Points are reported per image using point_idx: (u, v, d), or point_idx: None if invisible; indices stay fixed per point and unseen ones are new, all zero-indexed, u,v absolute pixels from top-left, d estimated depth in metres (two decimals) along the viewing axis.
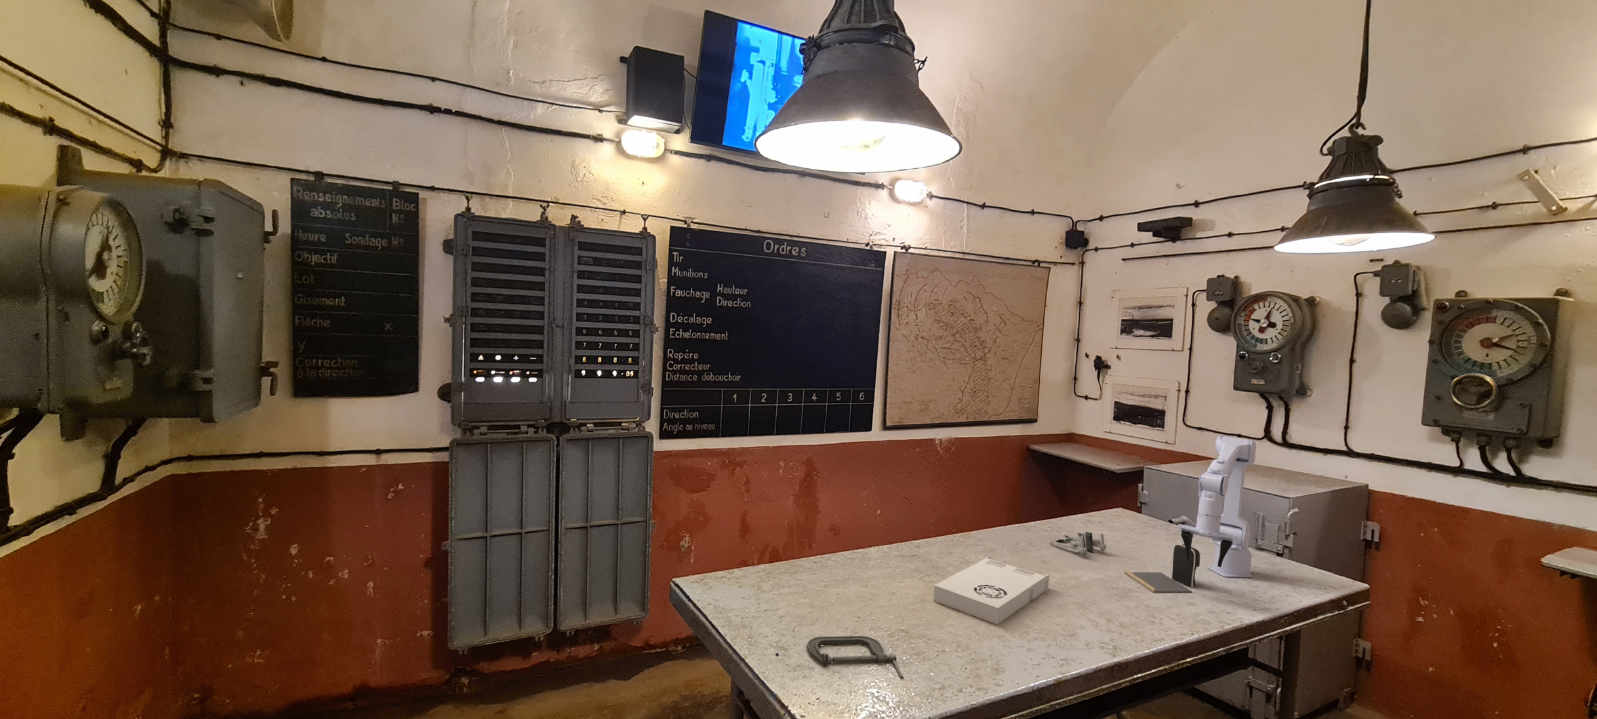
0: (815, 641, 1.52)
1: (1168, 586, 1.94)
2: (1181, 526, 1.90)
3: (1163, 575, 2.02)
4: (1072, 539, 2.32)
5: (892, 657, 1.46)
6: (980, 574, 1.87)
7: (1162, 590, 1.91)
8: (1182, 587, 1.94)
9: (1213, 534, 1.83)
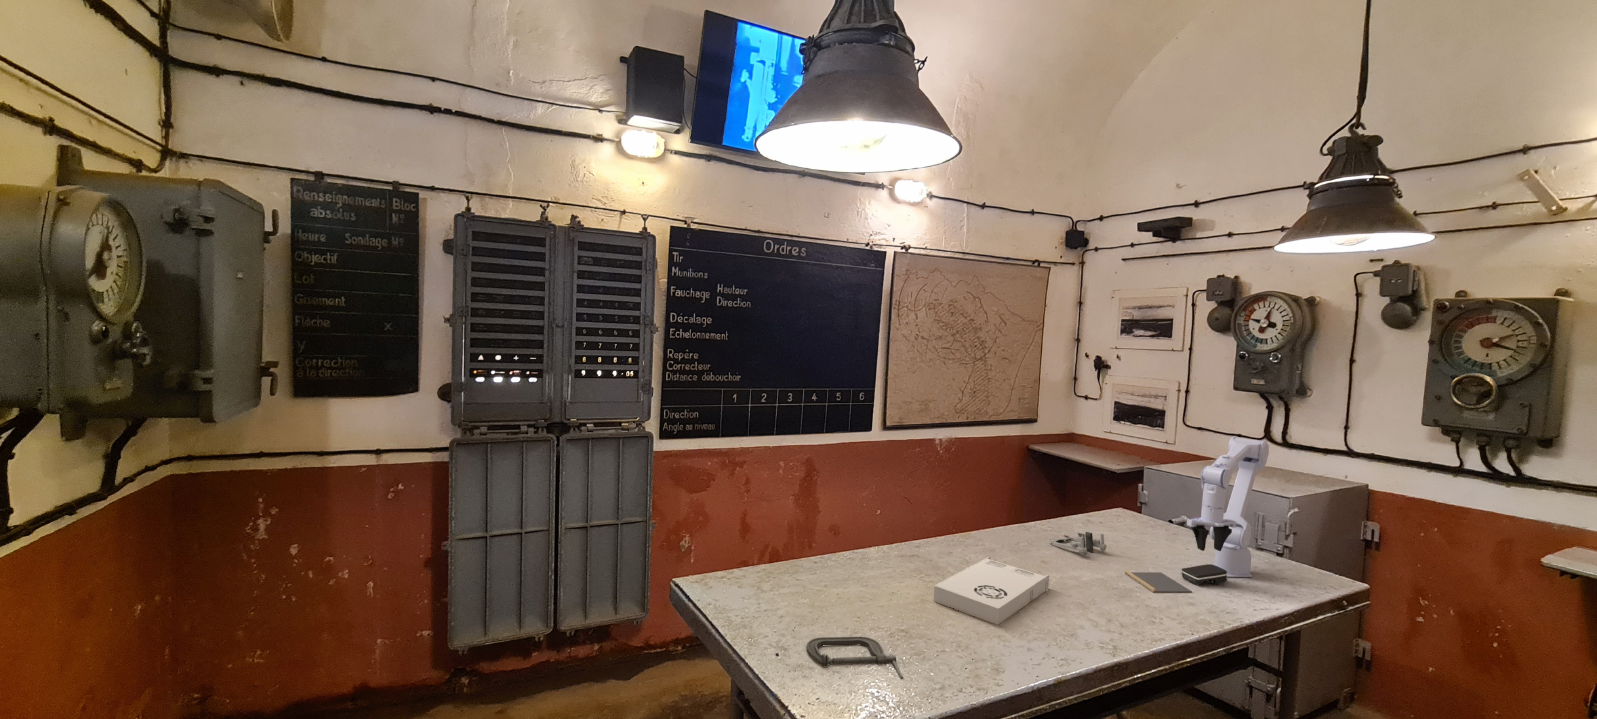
0: (814, 642, 1.52)
1: (1168, 586, 1.94)
2: (1194, 522, 1.96)
3: (1163, 575, 2.02)
4: (1072, 539, 2.32)
5: (892, 658, 1.45)
6: (980, 574, 1.87)
7: (1162, 590, 1.91)
8: (1182, 587, 1.94)
9: None
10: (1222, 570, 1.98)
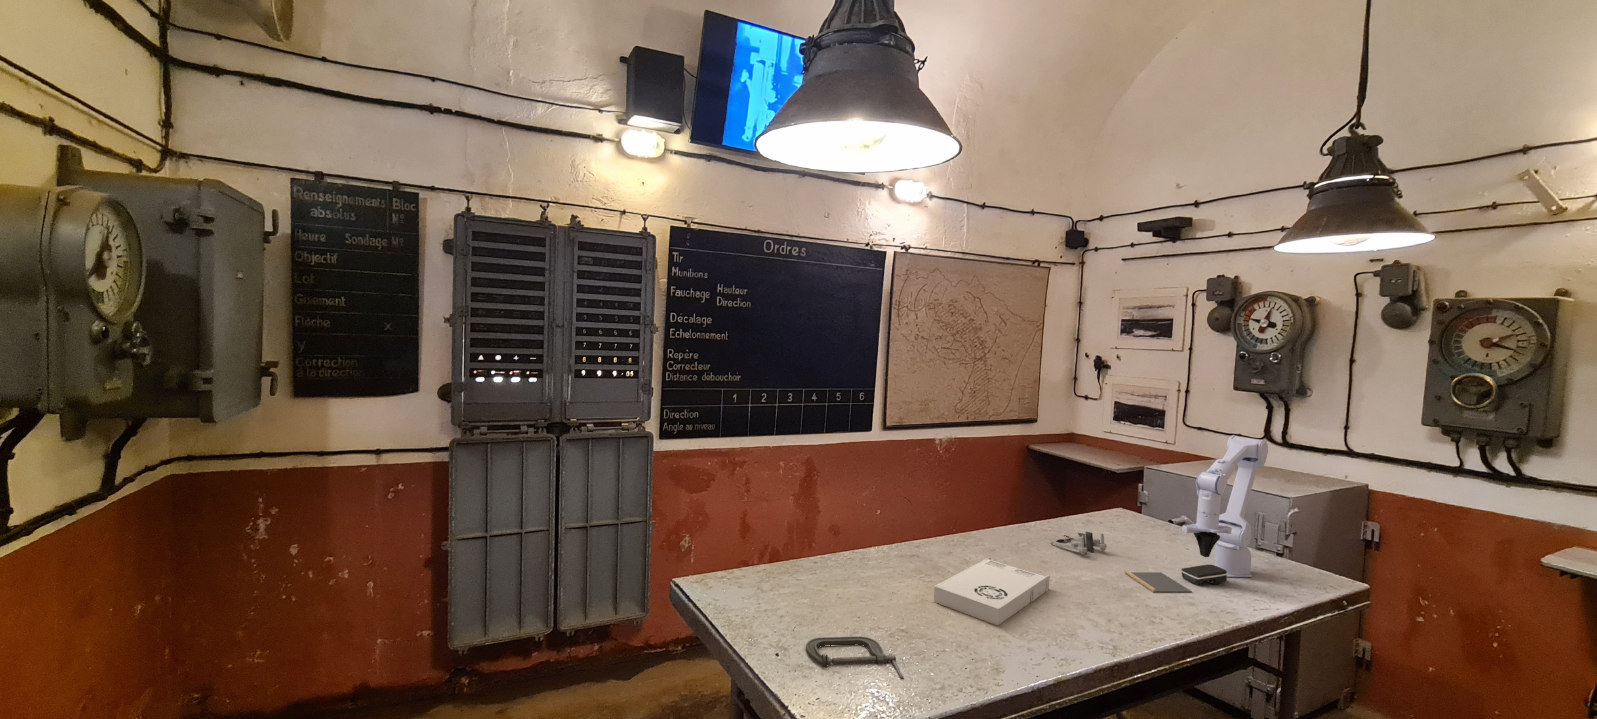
0: (814, 642, 1.52)
1: (1168, 586, 1.94)
2: (1189, 528, 1.96)
3: (1163, 575, 2.02)
4: (1072, 539, 2.32)
5: (891, 657, 1.45)
6: (981, 575, 1.87)
7: (1162, 590, 1.91)
8: (1182, 587, 1.94)
9: (1218, 530, 1.95)
10: (1222, 570, 1.98)
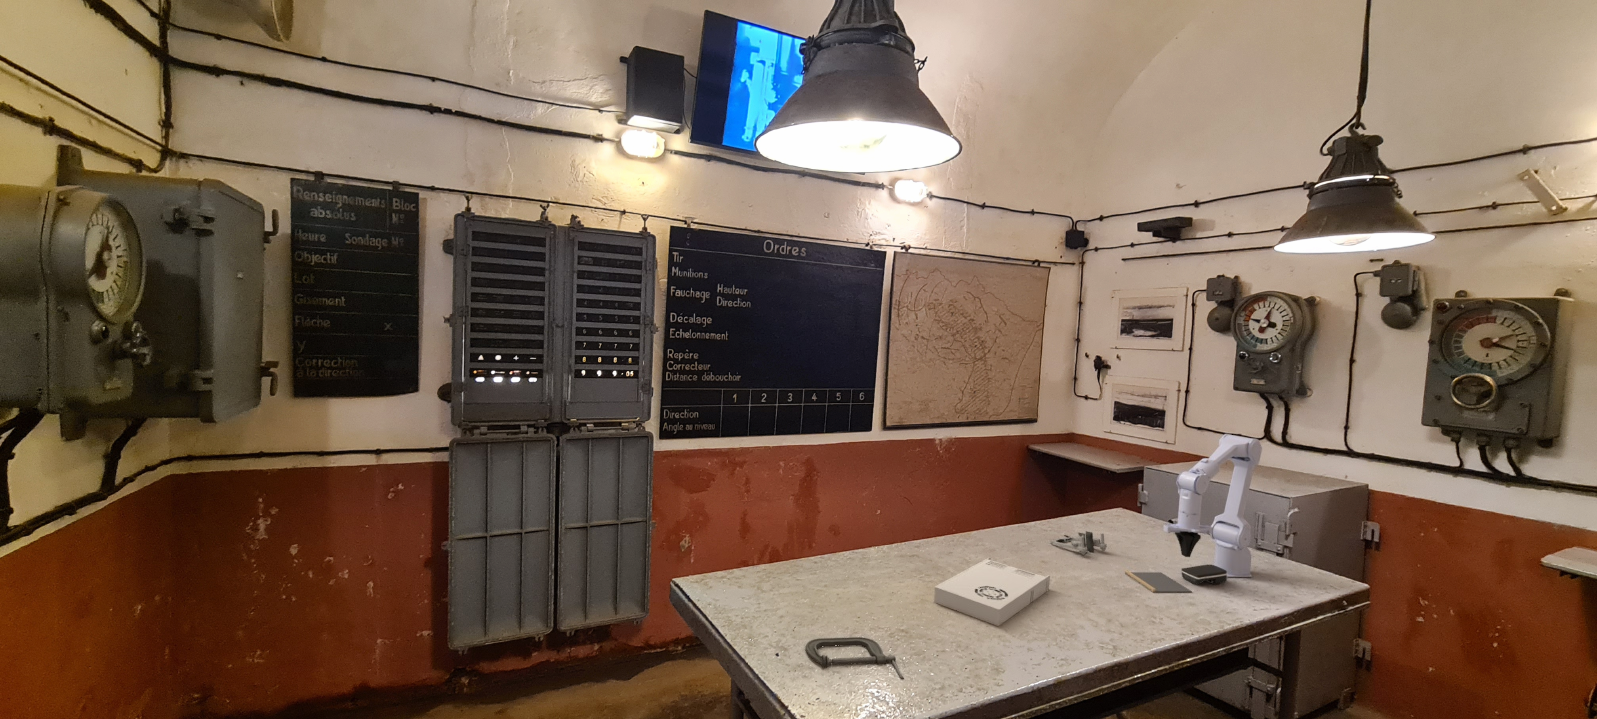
0: (813, 643, 1.51)
1: (1168, 586, 1.94)
2: (1170, 528, 1.95)
3: (1163, 575, 2.02)
4: (1072, 539, 2.32)
5: (891, 658, 1.45)
6: (981, 575, 1.87)
7: (1162, 590, 1.91)
8: (1182, 587, 1.94)
9: (1199, 530, 1.95)
10: (1222, 570, 1.98)
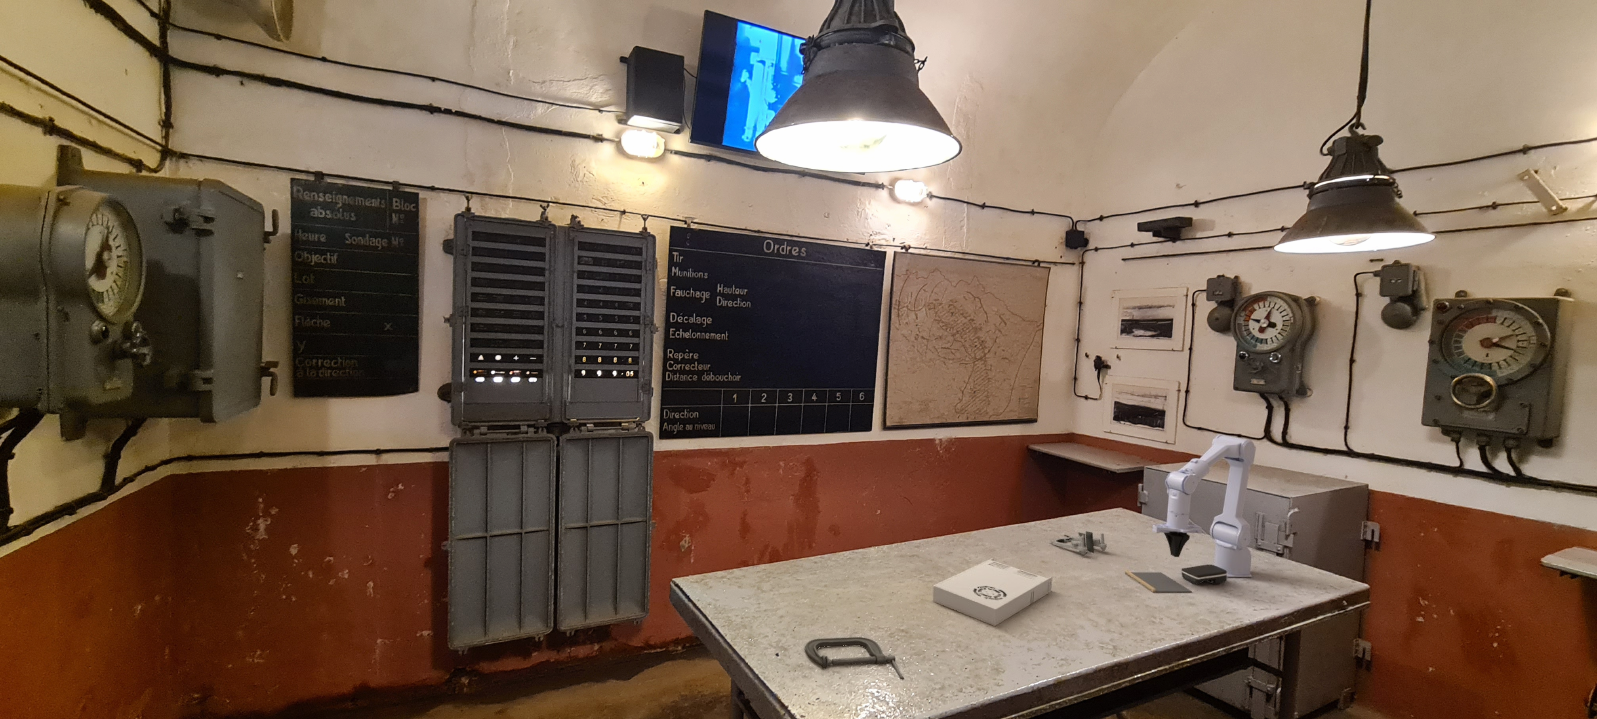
0: (813, 643, 1.51)
1: (1168, 586, 1.94)
2: (1159, 528, 1.95)
3: (1163, 575, 2.02)
4: (1072, 539, 2.32)
5: (891, 658, 1.45)
6: (981, 575, 1.87)
7: (1162, 590, 1.91)
8: (1182, 587, 1.94)
9: (1188, 530, 1.94)
10: (1222, 570, 1.98)
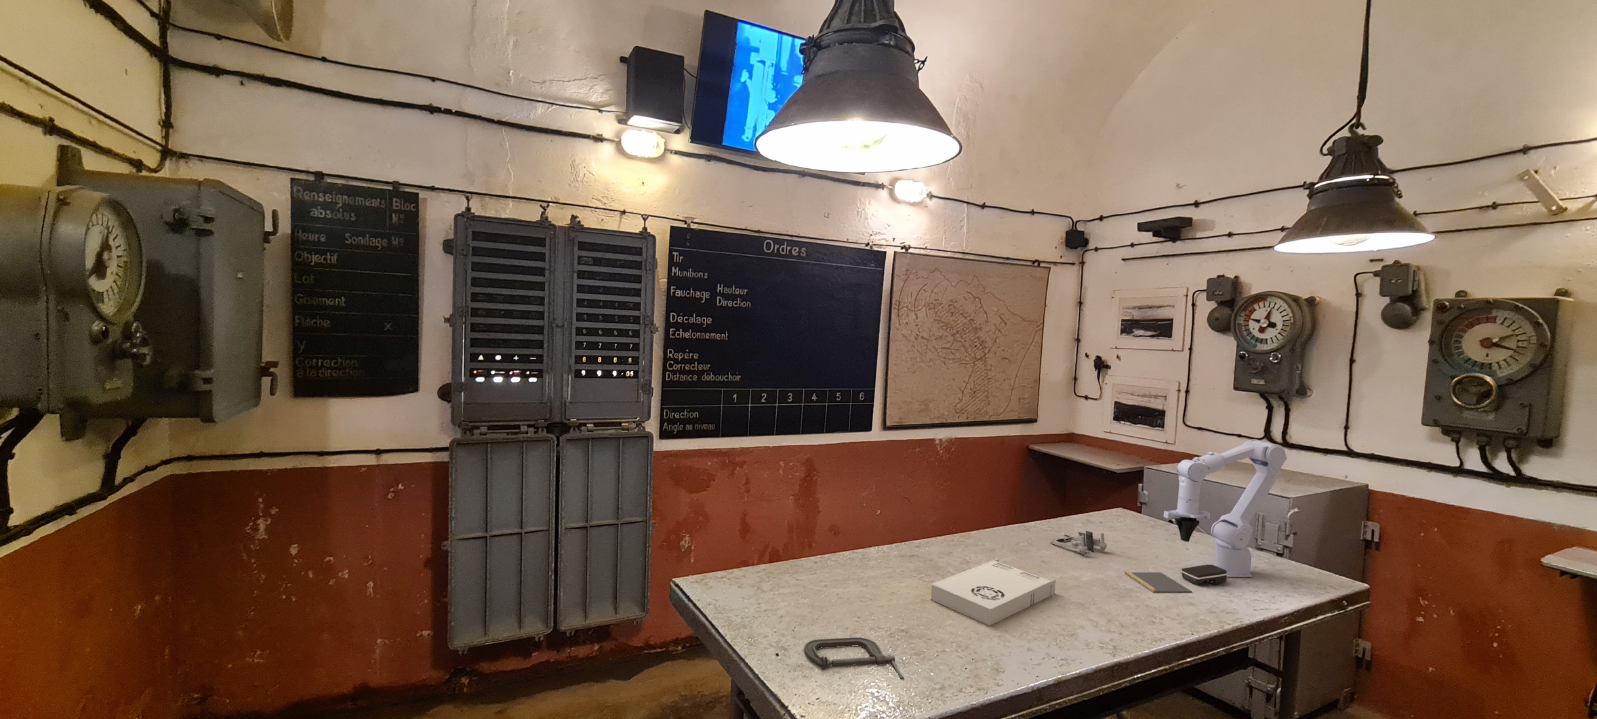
0: (812, 644, 1.51)
1: (1168, 586, 1.94)
2: (1170, 514, 2.04)
3: (1163, 575, 2.02)
4: (1072, 538, 2.33)
5: (891, 658, 1.45)
6: (983, 575, 1.86)
7: (1162, 590, 1.91)
8: (1182, 587, 1.94)
9: None
10: (1222, 570, 1.98)
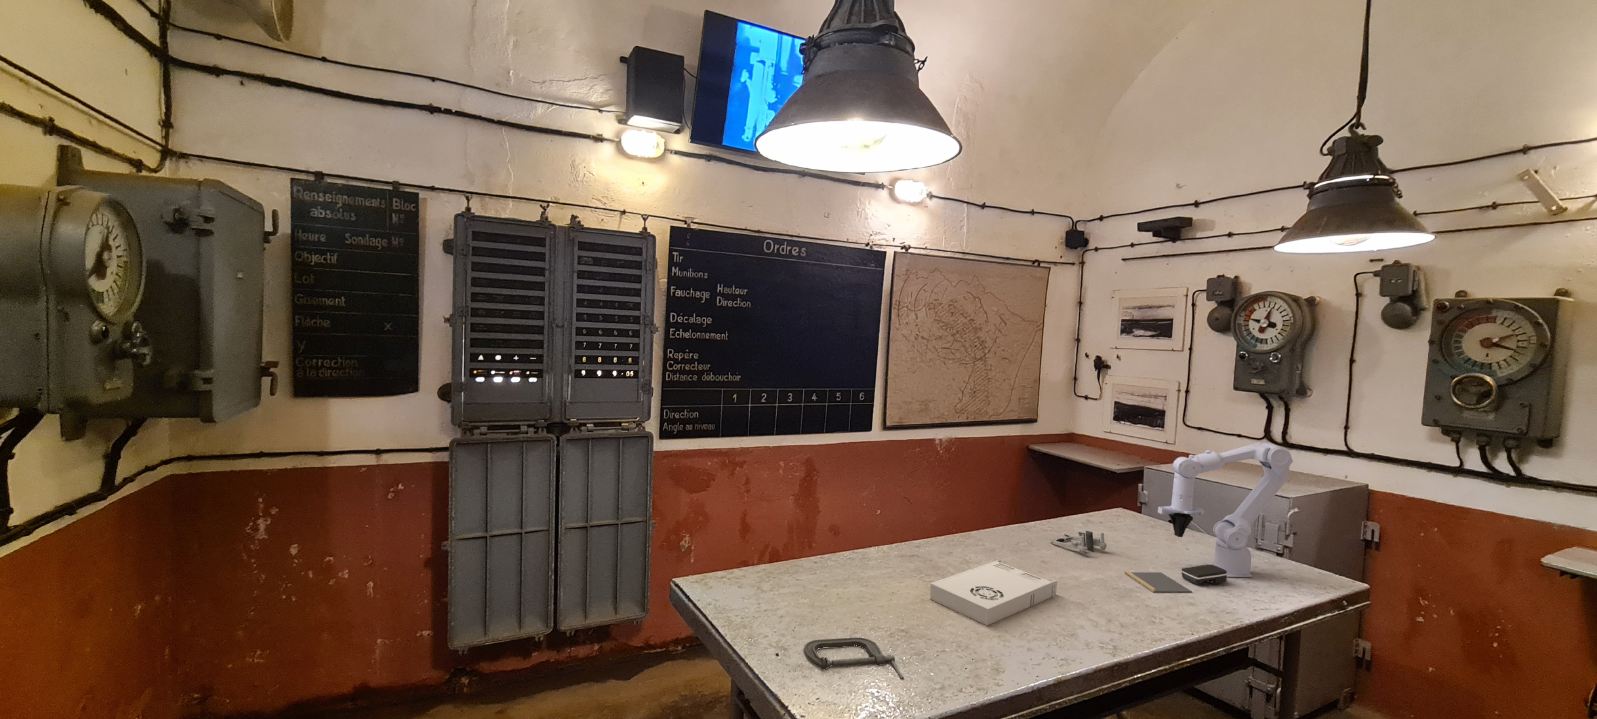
0: (812, 645, 1.51)
1: (1168, 586, 1.94)
2: (1164, 509, 2.08)
3: (1163, 575, 2.02)
4: (1072, 538, 2.33)
5: (890, 658, 1.45)
6: (983, 575, 1.86)
7: (1162, 590, 1.91)
8: (1182, 587, 1.94)
9: (1191, 512, 2.07)
10: (1222, 570, 1.98)
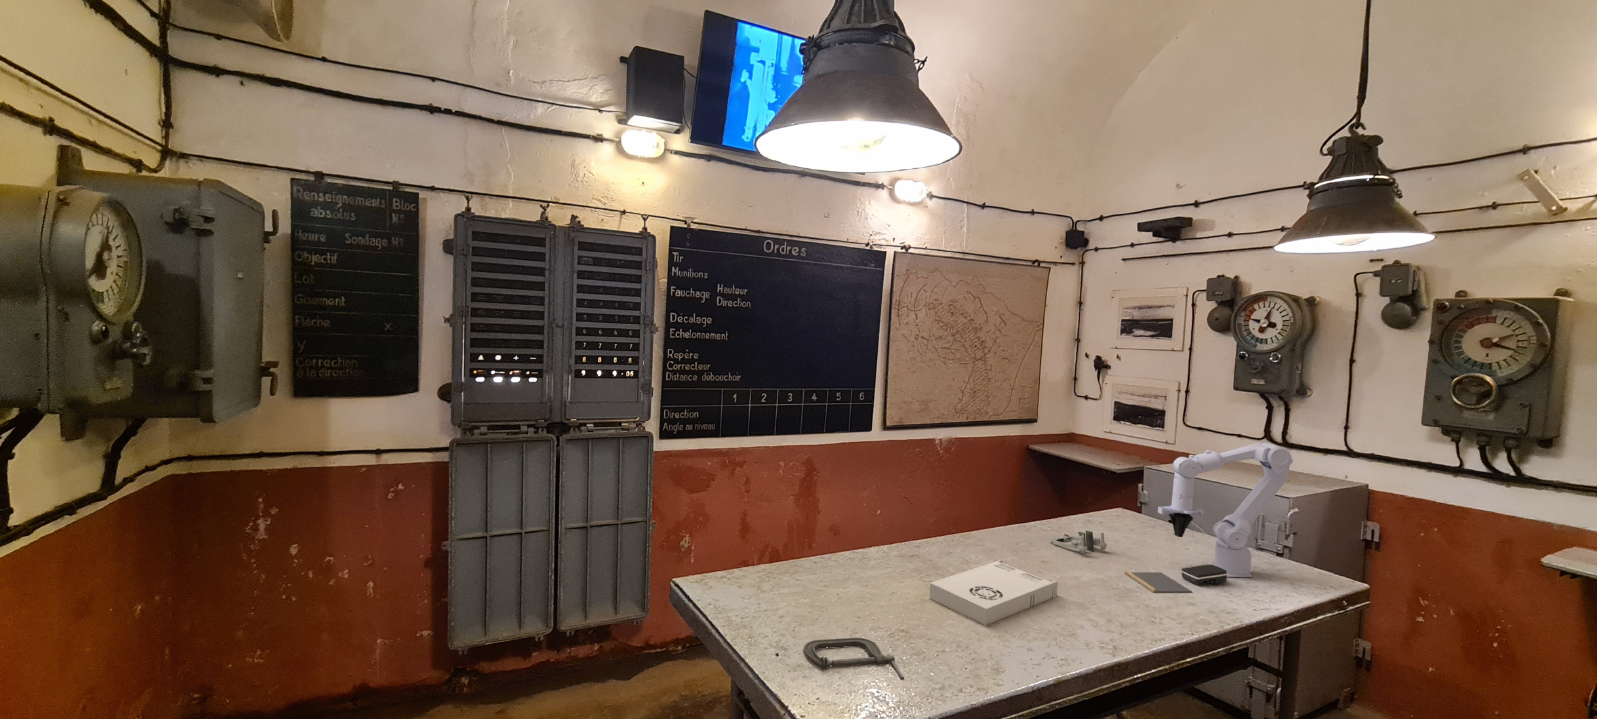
0: (811, 645, 1.50)
1: (1168, 586, 1.94)
2: (1164, 509, 2.08)
3: (1163, 575, 2.02)
4: (1072, 538, 2.33)
5: (890, 658, 1.45)
6: (983, 576, 1.86)
7: (1162, 590, 1.91)
8: (1182, 587, 1.94)
9: (1191, 512, 2.07)
10: (1222, 570, 1.98)
